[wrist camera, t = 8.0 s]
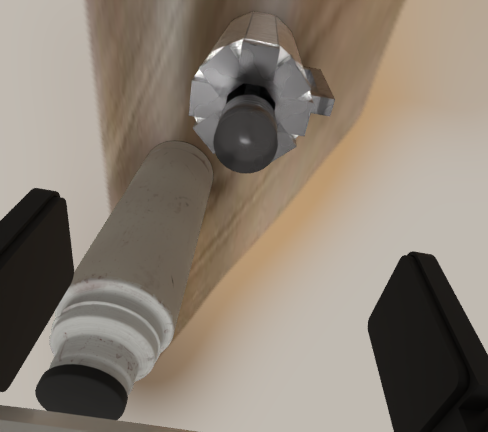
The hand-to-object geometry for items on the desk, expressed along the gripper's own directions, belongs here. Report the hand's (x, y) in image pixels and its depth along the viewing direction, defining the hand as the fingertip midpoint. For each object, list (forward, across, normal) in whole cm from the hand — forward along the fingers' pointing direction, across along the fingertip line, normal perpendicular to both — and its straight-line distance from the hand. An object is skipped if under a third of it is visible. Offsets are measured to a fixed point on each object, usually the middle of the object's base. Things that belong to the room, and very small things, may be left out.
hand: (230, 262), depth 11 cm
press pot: (+31, 0, +1) cm, 31 cm away
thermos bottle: (+31, +6, +15) cm, 35 cm away
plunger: (+28, 0, +1) cm, 28 cm away
